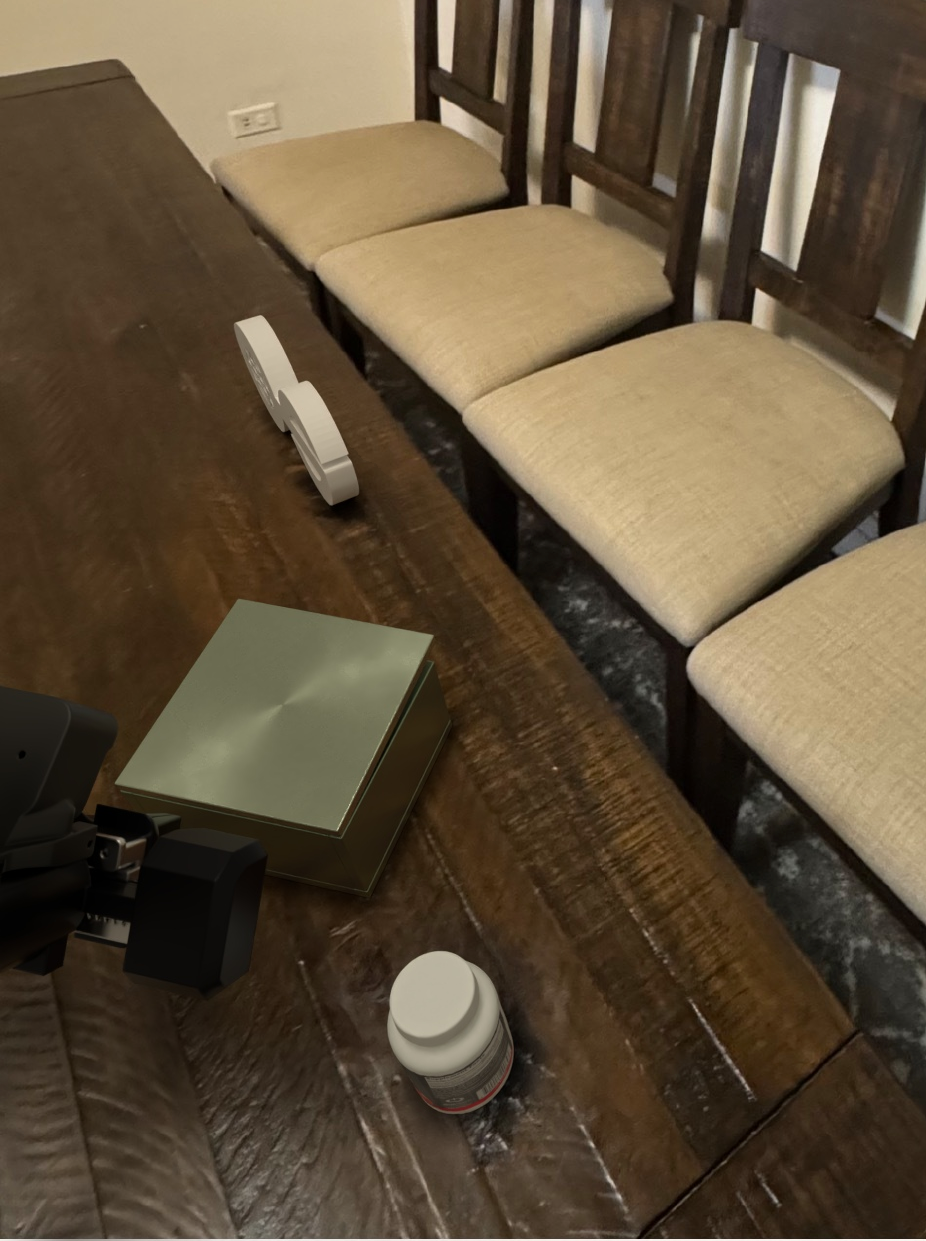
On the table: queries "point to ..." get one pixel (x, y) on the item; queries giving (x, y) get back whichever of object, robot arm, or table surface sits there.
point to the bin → (374, 820)
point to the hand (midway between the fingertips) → (173, 824)
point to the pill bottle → (449, 1032)
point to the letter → (297, 410)
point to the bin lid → (281, 717)
